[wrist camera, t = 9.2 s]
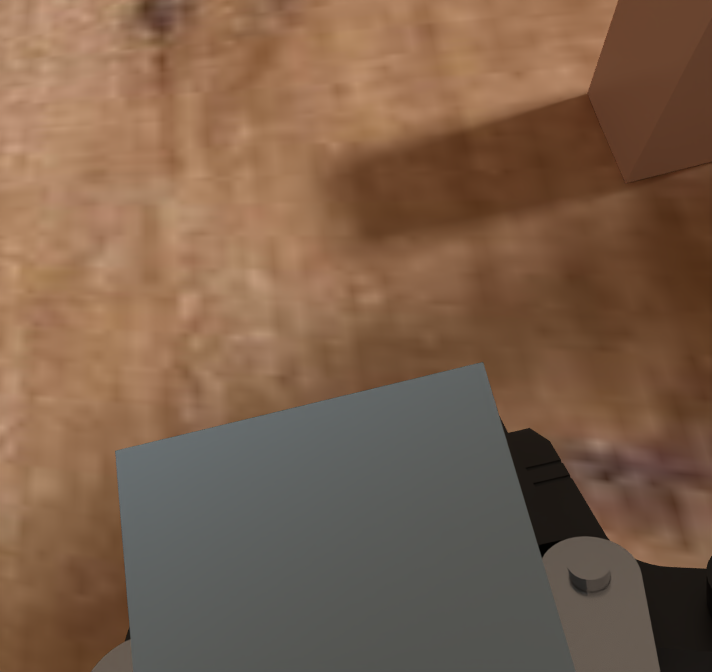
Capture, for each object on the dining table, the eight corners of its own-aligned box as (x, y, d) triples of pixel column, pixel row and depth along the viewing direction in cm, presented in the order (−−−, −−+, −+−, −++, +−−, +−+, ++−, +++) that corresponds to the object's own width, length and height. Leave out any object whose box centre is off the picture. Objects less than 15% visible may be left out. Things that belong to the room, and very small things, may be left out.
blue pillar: (294, 505, 17) (115, 450, 8) (457, 467, 17) (483, 362, 7) (326, 690, 15) (152, 913, 6) (506, 651, 15) (617, 815, 6)
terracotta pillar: (587, 93, 26) (671, -159, 17) (694, 65, 26) (839, -206, 17) (625, 183, 25) (741, -40, 15) (739, 154, 25) (927, -89, 15)
